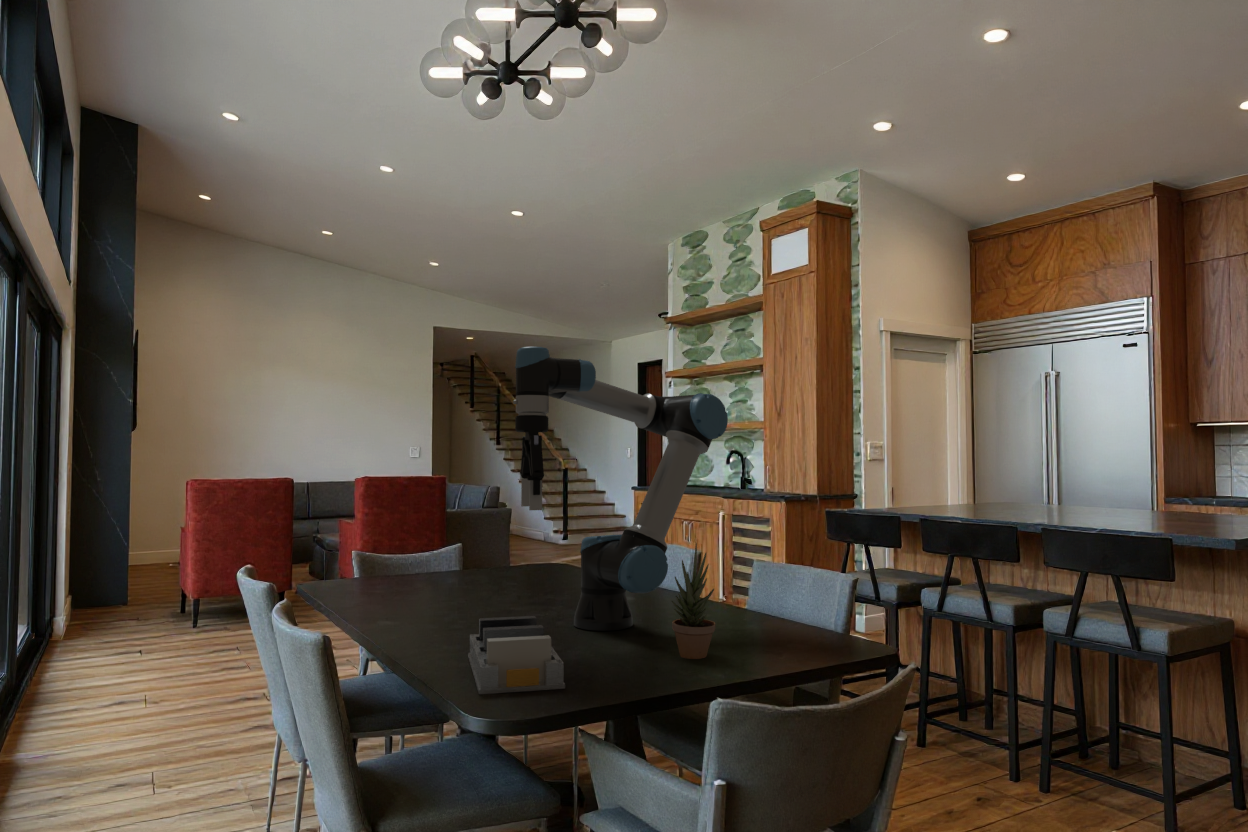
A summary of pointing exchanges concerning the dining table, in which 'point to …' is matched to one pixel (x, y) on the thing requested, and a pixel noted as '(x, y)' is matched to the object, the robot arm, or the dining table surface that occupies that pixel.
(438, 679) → the dining table surface
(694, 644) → the potted plant
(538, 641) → the panel
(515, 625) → the rack
